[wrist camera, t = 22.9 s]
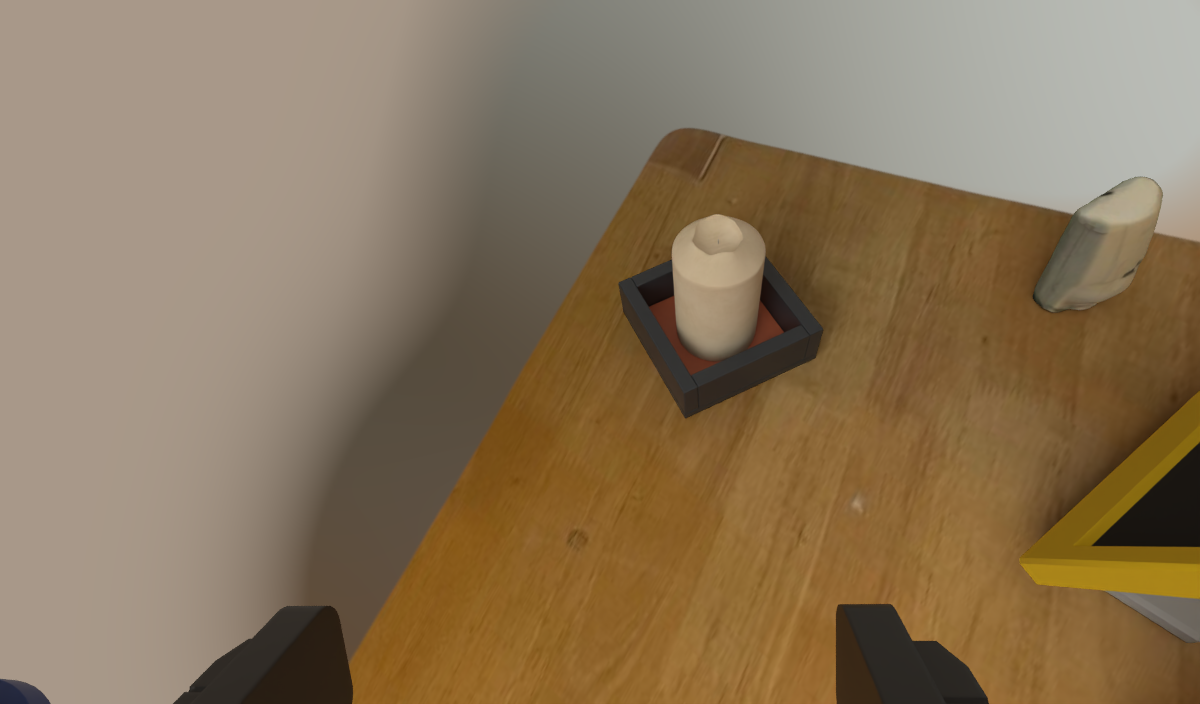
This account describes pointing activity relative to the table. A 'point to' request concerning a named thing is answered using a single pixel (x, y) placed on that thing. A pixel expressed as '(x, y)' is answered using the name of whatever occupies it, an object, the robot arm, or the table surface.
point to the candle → (717, 286)
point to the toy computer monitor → (1137, 531)
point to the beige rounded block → (1101, 247)
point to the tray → (701, 384)
